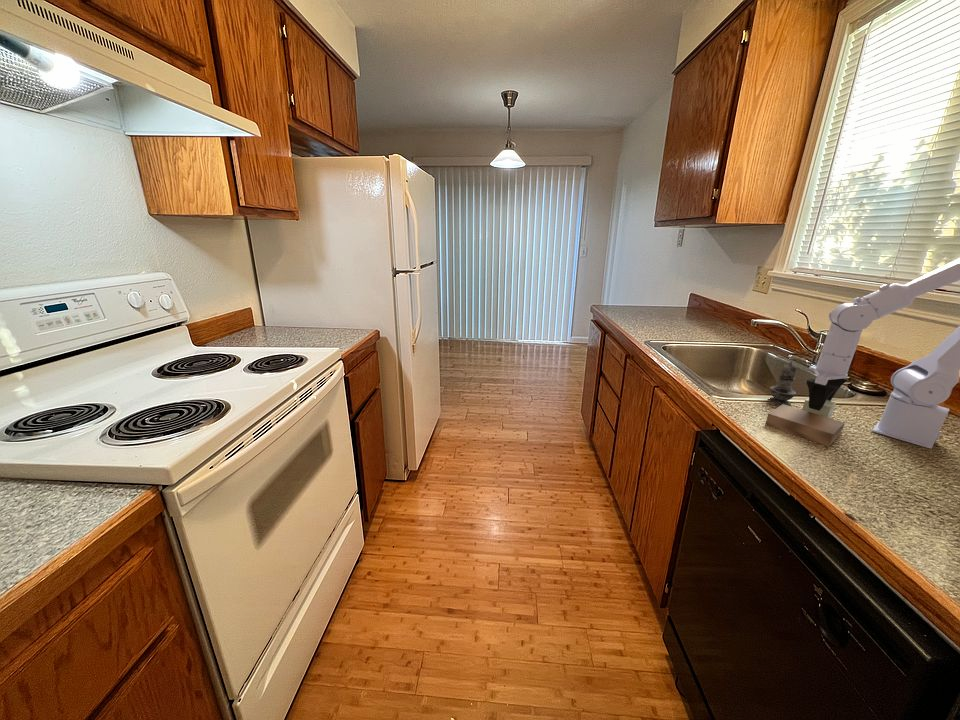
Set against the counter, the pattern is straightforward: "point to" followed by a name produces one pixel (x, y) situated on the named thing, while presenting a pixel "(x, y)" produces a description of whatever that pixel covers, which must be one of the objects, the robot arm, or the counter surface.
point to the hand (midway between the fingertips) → (818, 405)
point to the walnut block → (805, 424)
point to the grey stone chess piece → (784, 386)
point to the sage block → (824, 411)
